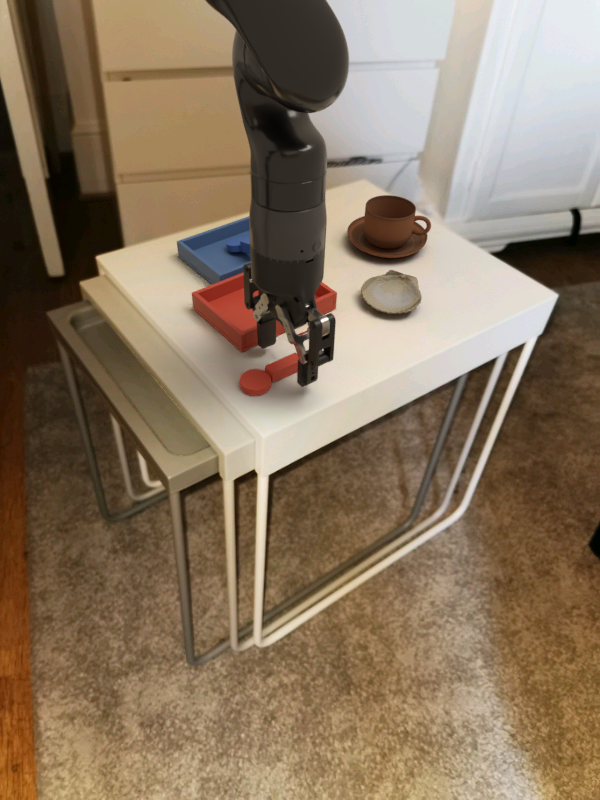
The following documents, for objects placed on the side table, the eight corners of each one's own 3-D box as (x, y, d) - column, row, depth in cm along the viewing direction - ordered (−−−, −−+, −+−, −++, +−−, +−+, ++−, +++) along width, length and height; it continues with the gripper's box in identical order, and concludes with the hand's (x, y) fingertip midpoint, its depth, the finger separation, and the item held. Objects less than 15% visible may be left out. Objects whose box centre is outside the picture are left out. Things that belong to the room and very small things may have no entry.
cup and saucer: (414, 223, 102) (420, 186, 98) (434, 263, 94) (442, 225, 89) (340, 226, 101) (343, 189, 97) (354, 267, 92) (357, 228, 88)
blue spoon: (222, 249, 94) (220, 238, 93) (242, 241, 96) (241, 231, 95) (253, 260, 88) (251, 248, 87) (273, 252, 90) (272, 241, 89)
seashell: (354, 316, 87) (406, 327, 82) (349, 298, 85) (402, 308, 80) (385, 281, 91) (435, 289, 86) (381, 263, 89) (432, 270, 84)
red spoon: (250, 400, 72) (250, 389, 71) (233, 382, 74) (233, 372, 73) (308, 374, 75) (308, 363, 74) (290, 357, 77) (290, 347, 76)
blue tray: (220, 292, 87) (219, 275, 85) (178, 257, 93) (176, 241, 91) (307, 257, 94) (308, 241, 92) (262, 226, 100) (262, 211, 98)
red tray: (241, 352, 78) (241, 335, 76) (193, 309, 84) (191, 292, 82) (336, 308, 85) (337, 292, 83) (284, 271, 91) (284, 255, 89)
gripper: (218, 218, 66) (226, 343, 77) (298, 283, 57) (295, 412, 69) (278, 200, 69) (278, 322, 80) (363, 258, 61) (349, 385, 72)
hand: (286, 363), depth 74 cm, fingers open, 7 cm apart
